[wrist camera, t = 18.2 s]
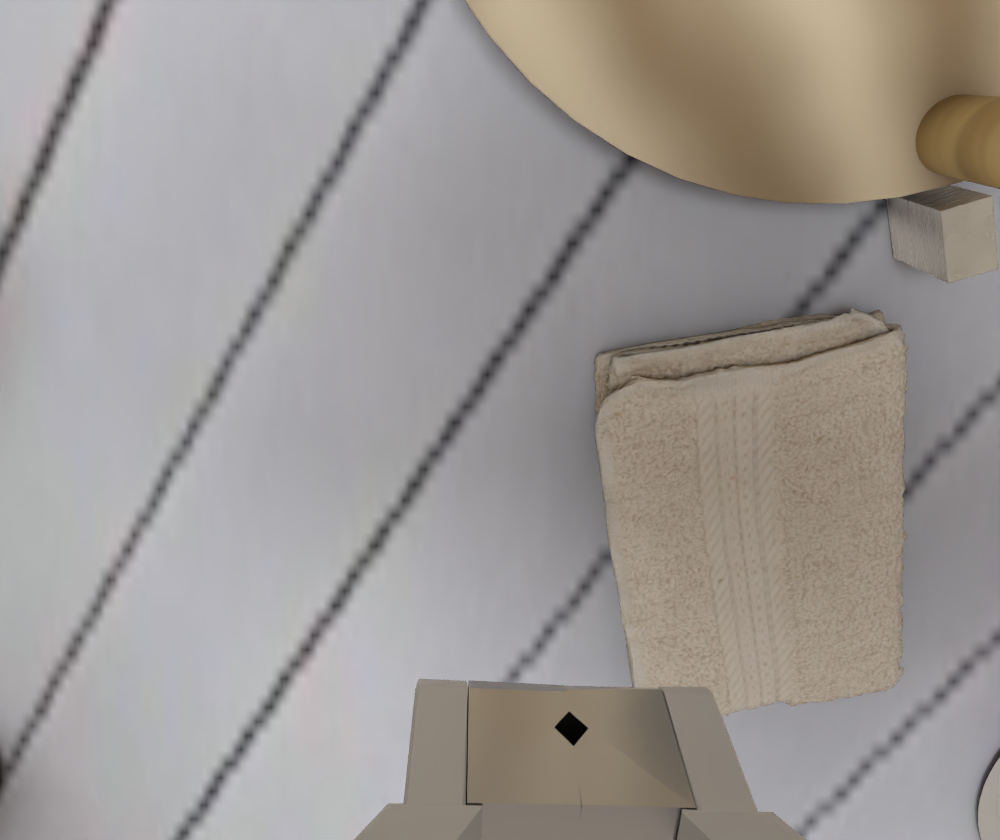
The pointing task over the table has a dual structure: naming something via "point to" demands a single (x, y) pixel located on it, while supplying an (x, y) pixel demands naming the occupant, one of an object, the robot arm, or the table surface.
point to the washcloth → (758, 507)
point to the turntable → (773, 88)
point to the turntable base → (944, 232)
